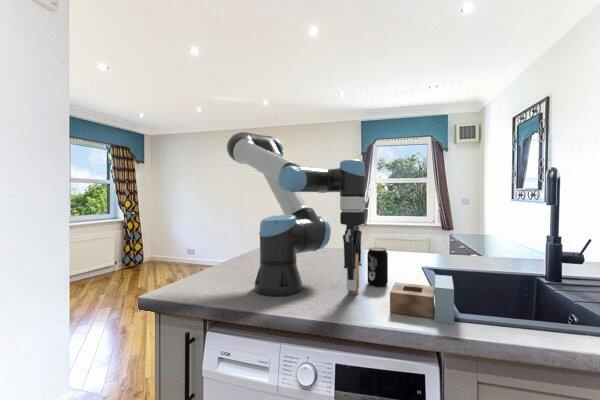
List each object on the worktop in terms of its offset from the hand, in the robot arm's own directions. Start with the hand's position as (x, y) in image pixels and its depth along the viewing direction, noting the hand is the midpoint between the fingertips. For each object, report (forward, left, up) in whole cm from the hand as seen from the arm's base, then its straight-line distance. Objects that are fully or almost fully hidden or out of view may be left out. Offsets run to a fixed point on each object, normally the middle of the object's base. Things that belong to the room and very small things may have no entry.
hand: (353, 288), depth 94 cm
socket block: (+18, -7, -2) cm, 19 cm away
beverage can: (+5, +13, -2) cm, 14 cm away
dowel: (0, 0, -2) cm, 2 cm away
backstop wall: (+25, -7, -2) cm, 26 cm away
